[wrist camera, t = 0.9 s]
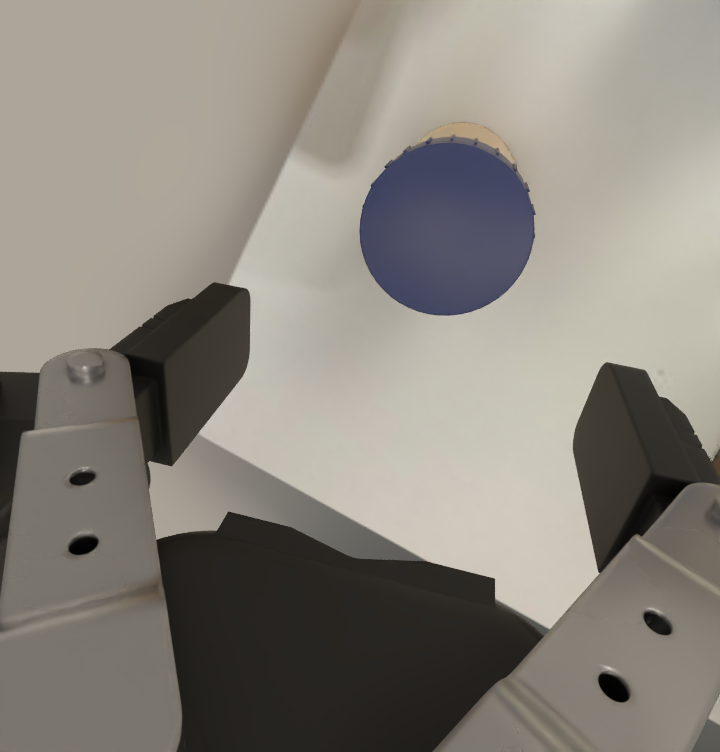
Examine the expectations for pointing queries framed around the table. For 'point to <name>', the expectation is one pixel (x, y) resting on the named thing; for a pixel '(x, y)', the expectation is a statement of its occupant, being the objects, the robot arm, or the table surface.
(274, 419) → the table surface
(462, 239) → the jar lid
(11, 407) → the robot arm
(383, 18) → the table surface
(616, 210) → the table surface
